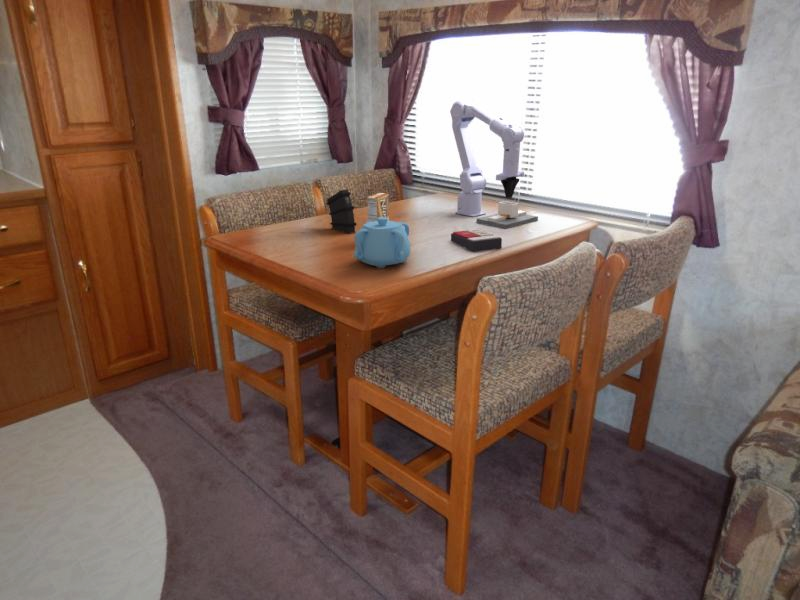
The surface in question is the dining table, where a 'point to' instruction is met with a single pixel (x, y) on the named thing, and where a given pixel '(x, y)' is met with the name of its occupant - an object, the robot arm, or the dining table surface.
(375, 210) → the candy box
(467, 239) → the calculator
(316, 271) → the dining table surface
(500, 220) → the rail board
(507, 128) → the robot arm
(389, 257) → the decorative pot
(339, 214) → the black ribbed block
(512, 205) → the block
